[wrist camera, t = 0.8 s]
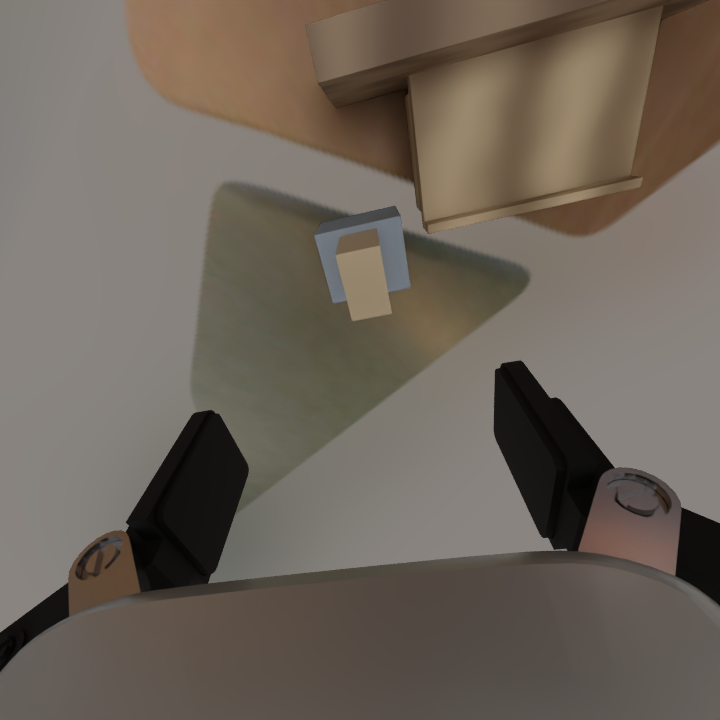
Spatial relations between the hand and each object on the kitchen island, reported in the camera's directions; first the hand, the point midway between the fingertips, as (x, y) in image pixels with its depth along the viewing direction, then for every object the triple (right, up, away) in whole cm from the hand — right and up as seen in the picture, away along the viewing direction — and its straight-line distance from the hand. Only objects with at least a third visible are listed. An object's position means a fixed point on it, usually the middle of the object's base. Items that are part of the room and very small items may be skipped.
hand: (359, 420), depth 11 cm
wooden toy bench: (+10, +22, +15) cm, 29 cm away
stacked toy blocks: (0, +13, +21) cm, 25 cm away
